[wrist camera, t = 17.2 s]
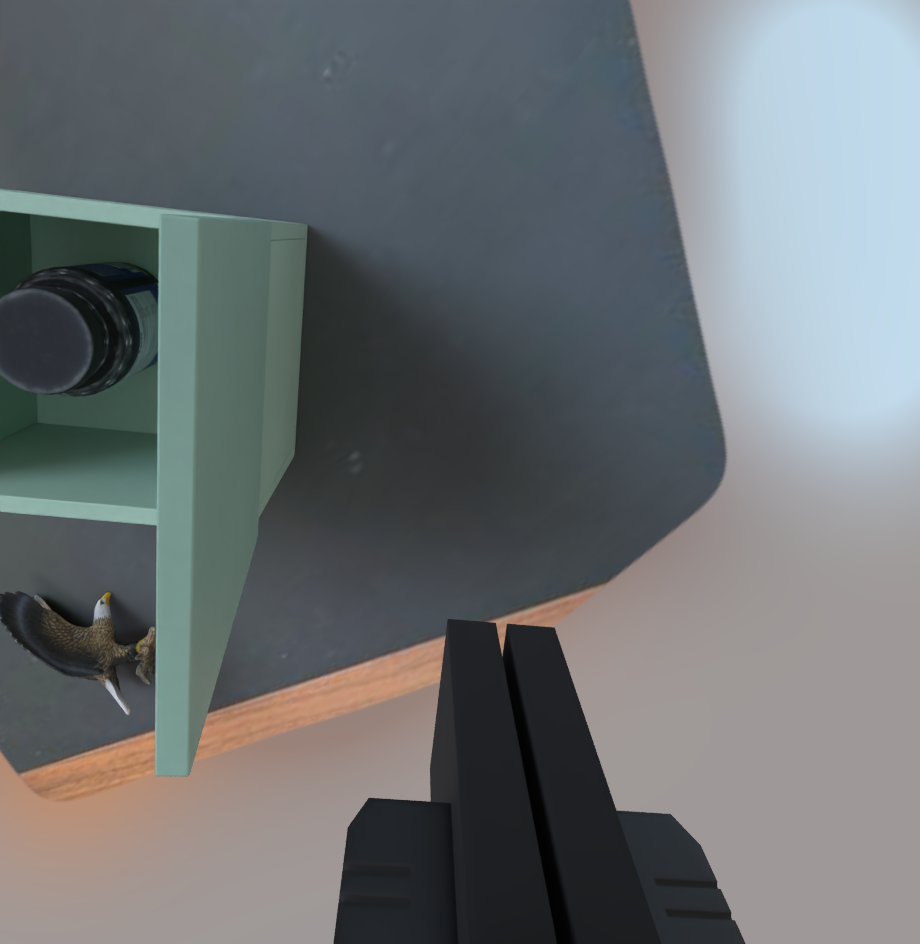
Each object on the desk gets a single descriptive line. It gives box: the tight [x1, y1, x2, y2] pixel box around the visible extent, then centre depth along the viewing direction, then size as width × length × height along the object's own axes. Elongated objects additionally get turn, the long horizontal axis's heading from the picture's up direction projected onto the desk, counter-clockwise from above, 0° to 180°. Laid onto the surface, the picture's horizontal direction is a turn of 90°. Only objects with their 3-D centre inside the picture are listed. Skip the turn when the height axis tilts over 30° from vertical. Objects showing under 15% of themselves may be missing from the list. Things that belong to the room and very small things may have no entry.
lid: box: [155, 214, 272, 777], centre depth 26 cm, size 16×14×1 cm
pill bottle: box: [0, 262, 159, 397], centre depth 40 cm, size 6×6×11 cm
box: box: [0, 189, 308, 525], centre depth 40 cm, size 16×14×13 cm
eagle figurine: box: [0, 591, 156, 715], centre depth 49 cm, size 8×7×9 cm
